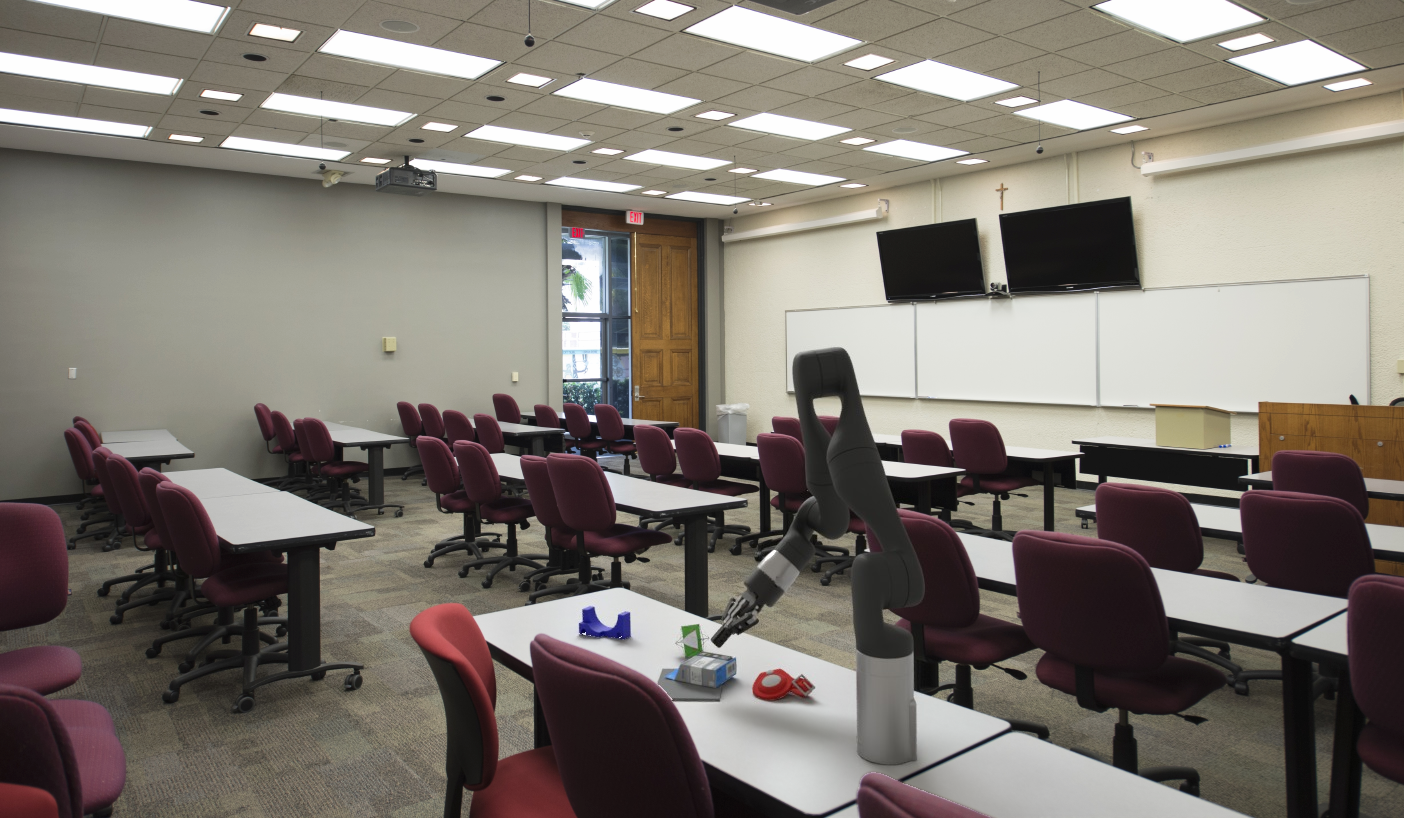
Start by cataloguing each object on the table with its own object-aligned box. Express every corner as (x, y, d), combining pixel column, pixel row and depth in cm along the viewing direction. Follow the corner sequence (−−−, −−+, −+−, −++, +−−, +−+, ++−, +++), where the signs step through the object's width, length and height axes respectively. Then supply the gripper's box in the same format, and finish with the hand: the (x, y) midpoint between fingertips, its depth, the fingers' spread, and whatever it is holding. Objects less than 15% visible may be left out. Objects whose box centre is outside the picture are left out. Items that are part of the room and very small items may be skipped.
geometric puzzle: (670, 639, 194) (676, 618, 189) (699, 636, 196) (705, 614, 192) (678, 666, 189) (684, 645, 184) (708, 662, 191) (714, 640, 186)
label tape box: (715, 670, 169) (663, 658, 175) (715, 690, 169) (663, 678, 175) (737, 656, 176) (686, 646, 182) (737, 675, 176) (686, 664, 183)
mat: (723, 670, 180) (723, 668, 180) (719, 700, 164) (719, 698, 164) (662, 670, 181) (662, 668, 181) (652, 699, 165) (652, 697, 165)
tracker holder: (752, 697, 163) (748, 667, 173) (757, 716, 164) (753, 685, 174) (814, 683, 162) (807, 653, 172) (819, 702, 164) (811, 671, 173)
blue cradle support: (579, 635, 207) (578, 610, 206) (590, 630, 210) (589, 605, 210) (620, 642, 201) (619, 616, 200) (630, 636, 205) (630, 611, 204)
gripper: (748, 559, 178) (692, 622, 175) (770, 573, 165) (710, 642, 162) (773, 582, 179) (718, 645, 177) (796, 598, 167) (737, 667, 164)
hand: (714, 644), depth 170 cm, fingers closed
